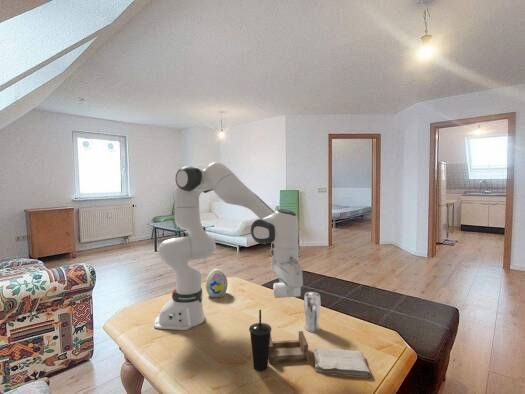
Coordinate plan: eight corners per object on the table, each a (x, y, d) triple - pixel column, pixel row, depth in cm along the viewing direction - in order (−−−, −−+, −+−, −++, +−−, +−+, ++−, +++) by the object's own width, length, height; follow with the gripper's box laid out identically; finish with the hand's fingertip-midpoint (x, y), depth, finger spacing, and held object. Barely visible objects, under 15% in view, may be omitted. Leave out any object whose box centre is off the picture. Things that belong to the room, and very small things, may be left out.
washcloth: (313, 353, 104) (313, 345, 103) (362, 356, 101) (362, 348, 101) (315, 375, 92) (315, 366, 92) (371, 379, 90) (371, 370, 89)
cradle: (268, 363, 97) (268, 346, 97) (266, 347, 106) (266, 332, 106) (307, 361, 98) (307, 344, 98) (302, 346, 107) (302, 331, 107)
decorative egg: (205, 300, 150) (205, 273, 149) (205, 291, 162) (205, 266, 161) (228, 298, 152) (228, 271, 151) (226, 289, 164) (226, 265, 163)
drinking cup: (249, 360, 99) (248, 305, 98) (270, 359, 100) (270, 304, 98) (249, 375, 91) (249, 316, 90) (272, 373, 92) (272, 315, 91)
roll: (276, 296, 97) (274, 281, 99) (274, 299, 101) (272, 285, 104) (301, 294, 98) (299, 280, 101) (298, 297, 103) (296, 283, 105)
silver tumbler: (310, 322, 125) (310, 290, 124) (323, 328, 120) (323, 294, 119) (300, 328, 120) (300, 294, 119) (314, 334, 115) (314, 299, 114)
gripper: (307, 260, 91) (307, 301, 92) (283, 247, 111) (283, 281, 111) (290, 262, 90) (290, 304, 90) (268, 249, 109) (269, 283, 110)
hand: (286, 291), depth 101 cm, fingers closed on roll, 6 cm apart
